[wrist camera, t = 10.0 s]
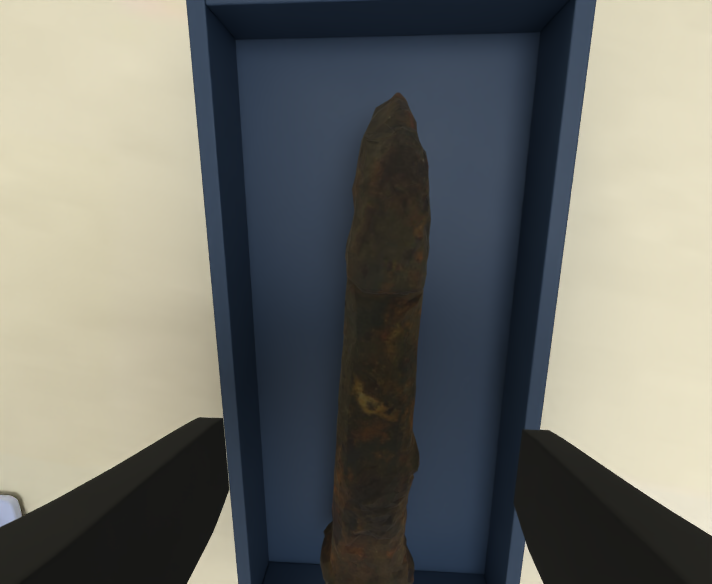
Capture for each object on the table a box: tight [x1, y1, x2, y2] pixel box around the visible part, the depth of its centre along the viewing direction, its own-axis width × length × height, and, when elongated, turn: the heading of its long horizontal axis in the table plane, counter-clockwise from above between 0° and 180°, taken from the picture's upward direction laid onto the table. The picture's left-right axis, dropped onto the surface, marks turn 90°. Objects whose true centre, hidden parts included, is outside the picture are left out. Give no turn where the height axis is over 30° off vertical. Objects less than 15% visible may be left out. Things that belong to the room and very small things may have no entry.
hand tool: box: [320, 93, 431, 584], centre depth 14 cm, size 19×4×5 cm, turn 175°
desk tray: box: [186, 0, 596, 584], centre depth 15 cm, size 12×25×3 cm, turn 0°
